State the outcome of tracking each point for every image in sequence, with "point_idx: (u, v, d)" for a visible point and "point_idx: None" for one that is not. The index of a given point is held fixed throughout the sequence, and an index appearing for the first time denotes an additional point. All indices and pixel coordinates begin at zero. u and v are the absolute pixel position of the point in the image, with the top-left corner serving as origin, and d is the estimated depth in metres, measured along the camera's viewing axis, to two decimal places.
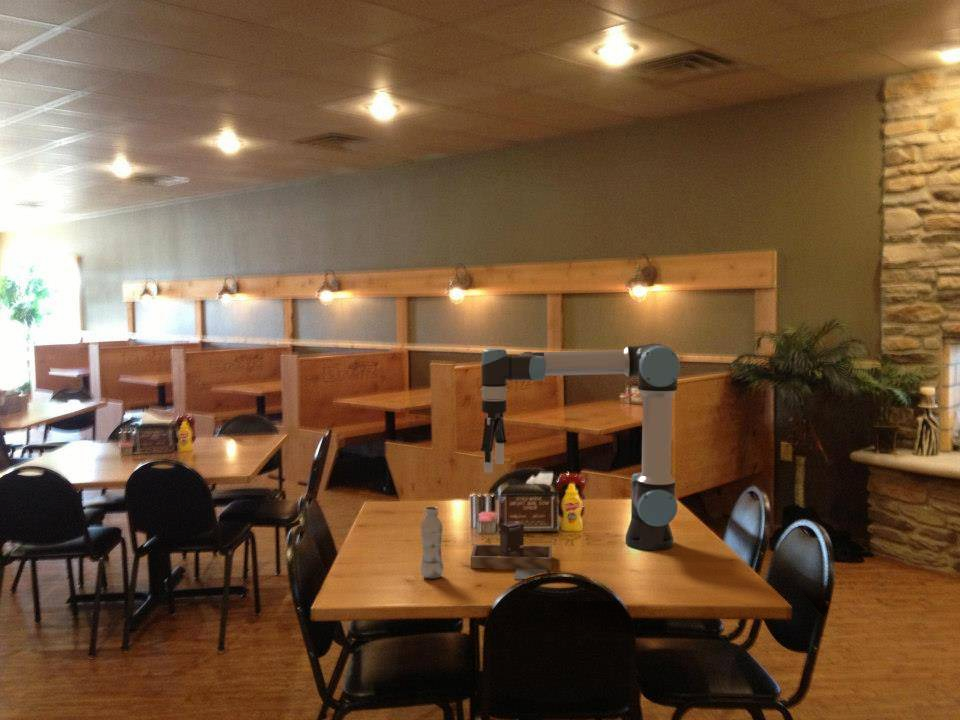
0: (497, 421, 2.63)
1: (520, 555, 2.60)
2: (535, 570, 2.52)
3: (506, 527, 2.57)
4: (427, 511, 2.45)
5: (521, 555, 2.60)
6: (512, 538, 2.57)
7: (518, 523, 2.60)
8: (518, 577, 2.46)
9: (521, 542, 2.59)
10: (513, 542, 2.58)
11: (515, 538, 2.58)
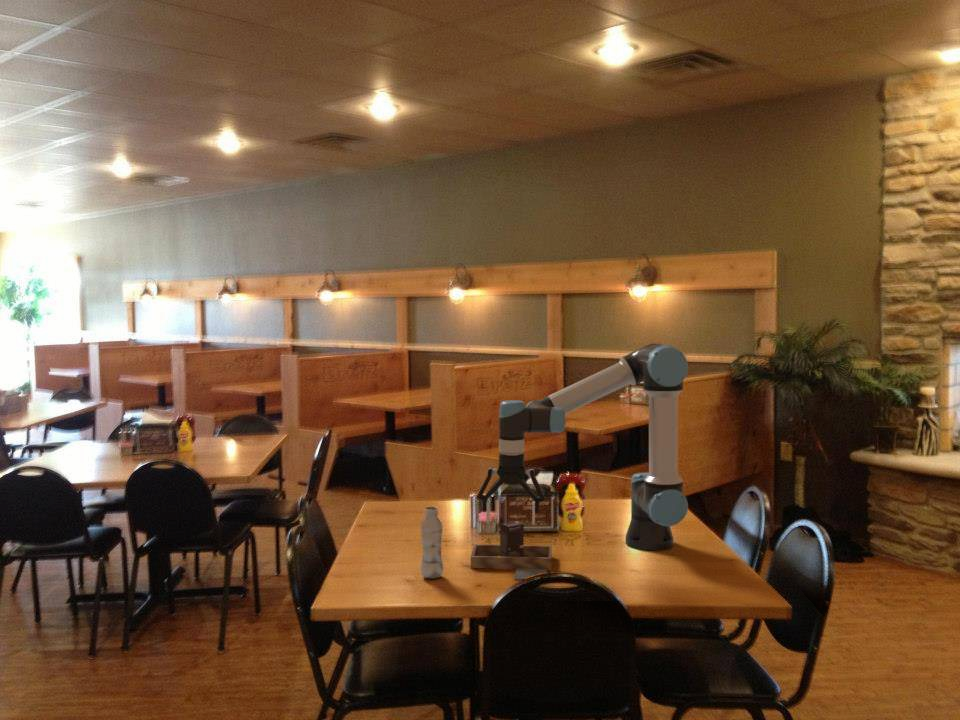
0: (504, 474, 2.57)
1: (520, 555, 2.60)
2: (535, 570, 2.52)
3: (506, 527, 2.57)
4: (427, 511, 2.45)
5: (521, 555, 2.60)
6: (512, 538, 2.57)
7: (518, 523, 2.60)
8: (518, 577, 2.46)
9: (521, 542, 2.59)
10: (513, 542, 2.58)
11: (515, 538, 2.58)
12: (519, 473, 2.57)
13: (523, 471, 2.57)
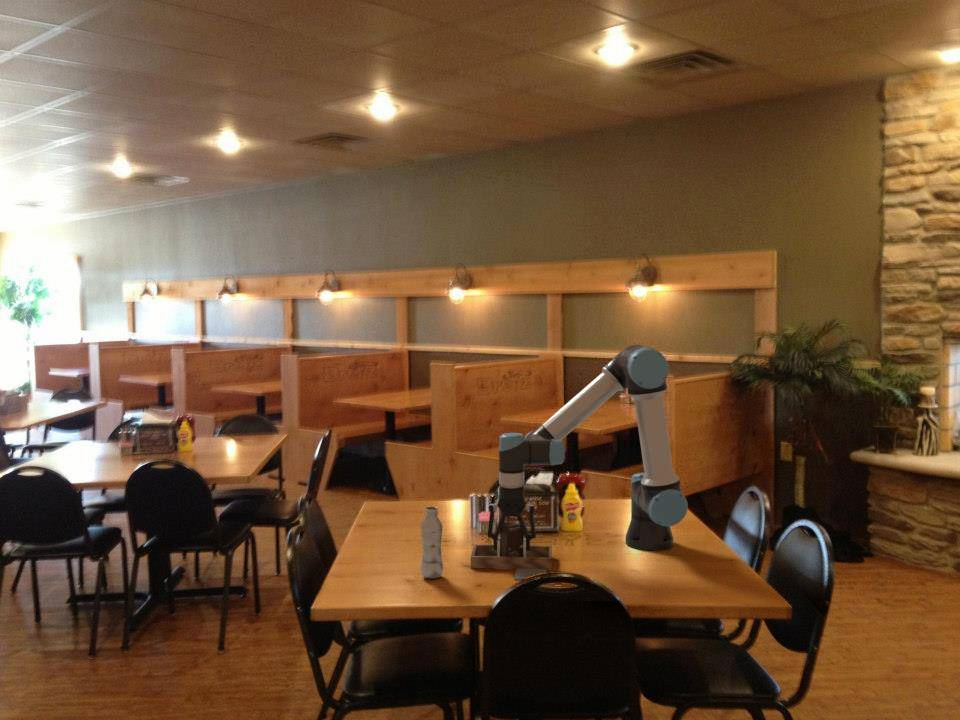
0: (504, 508, 2.58)
1: (520, 555, 2.60)
2: (535, 570, 2.52)
3: (506, 527, 2.57)
4: (427, 511, 2.45)
5: (521, 555, 2.60)
6: (512, 538, 2.57)
7: (518, 523, 2.60)
8: (518, 577, 2.46)
9: (521, 542, 2.59)
10: (513, 542, 2.58)
11: (515, 538, 2.58)
12: (519, 505, 2.58)
13: (524, 504, 2.58)
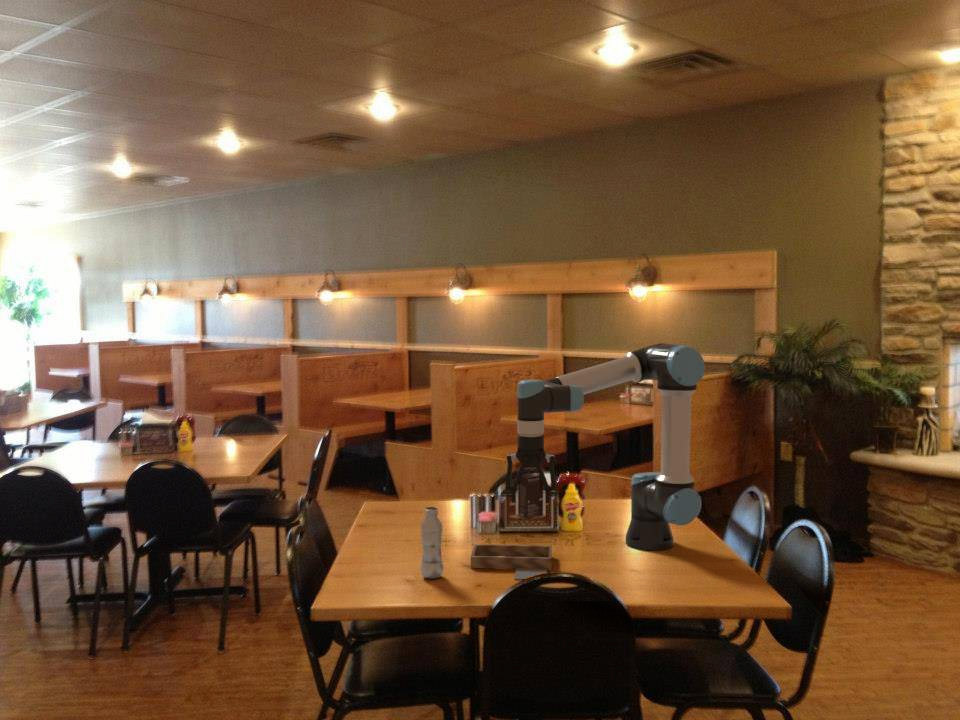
0: (523, 458, 2.45)
1: (540, 508, 2.47)
2: (535, 570, 2.52)
3: (525, 478, 2.44)
4: (427, 511, 2.45)
5: (541, 508, 2.47)
6: (531, 490, 2.45)
7: (537, 474, 2.47)
8: (518, 577, 2.46)
9: (540, 494, 2.47)
10: (532, 494, 2.45)
11: (534, 490, 2.45)
12: (539, 455, 2.45)
13: (543, 454, 2.45)
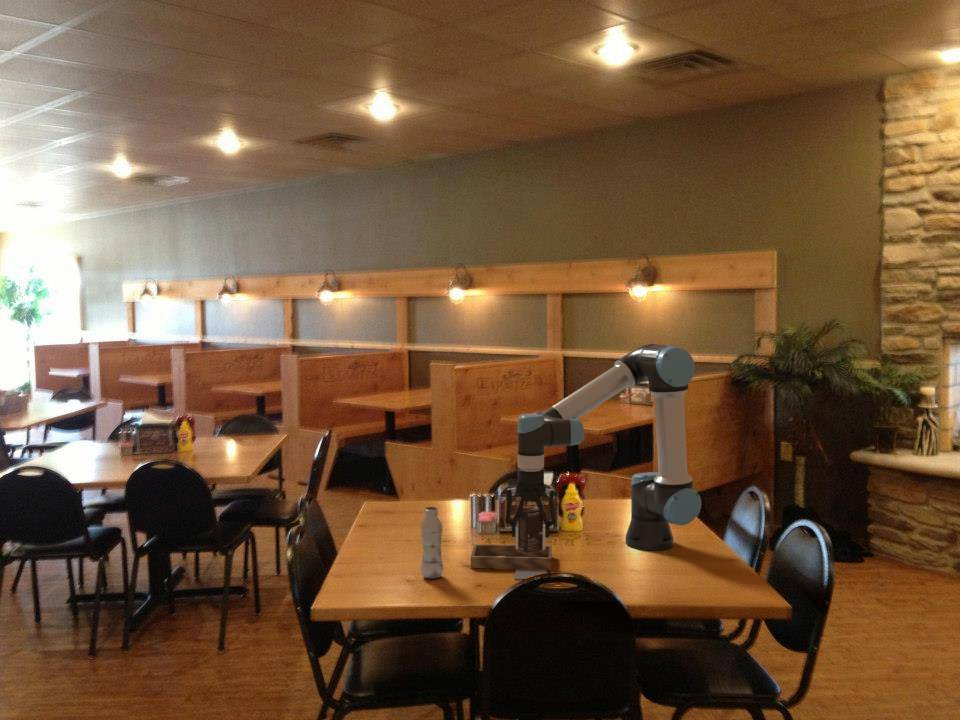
0: (523, 493, 2.46)
1: (539, 542, 2.47)
2: (535, 570, 2.52)
3: (525, 513, 2.45)
4: (427, 511, 2.45)
5: (540, 542, 2.48)
6: (531, 525, 2.45)
7: (537, 508, 2.48)
8: (518, 577, 2.46)
9: (540, 528, 2.47)
10: (531, 528, 2.46)
11: (534, 524, 2.46)
12: (539, 489, 2.46)
13: (543, 489, 2.46)
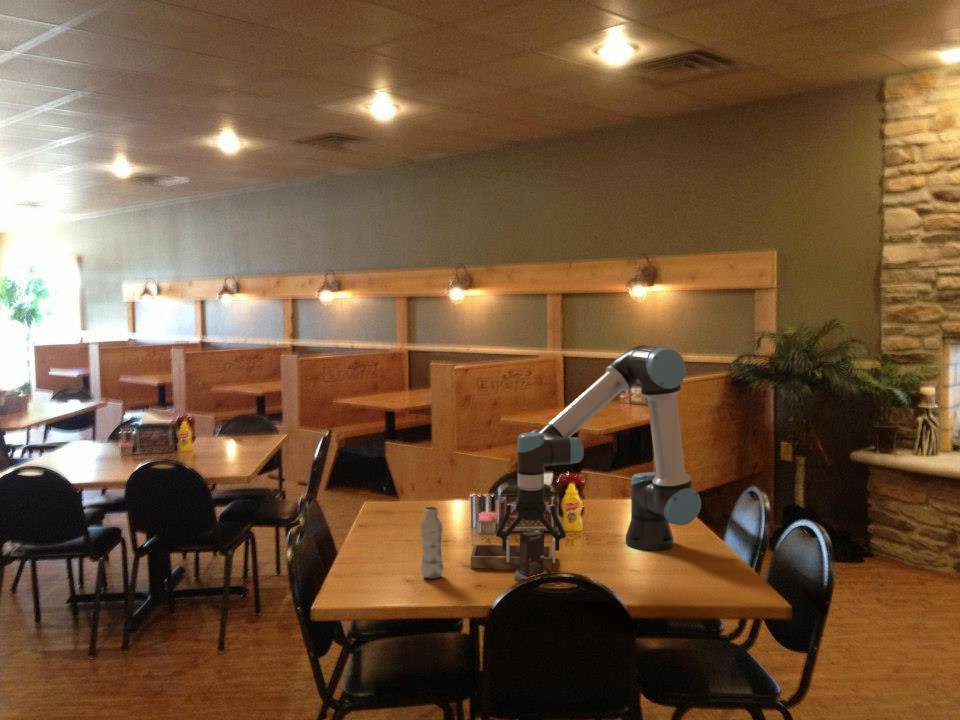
0: (523, 511, 2.46)
1: (540, 565, 2.48)
2: None
3: (526, 536, 2.45)
4: (427, 511, 2.45)
5: (541, 566, 2.48)
6: (532, 548, 2.46)
7: (538, 532, 2.48)
8: (518, 577, 2.46)
9: (541, 552, 2.48)
10: (533, 552, 2.46)
11: (535, 548, 2.46)
12: (539, 509, 2.46)
13: (543, 507, 2.46)
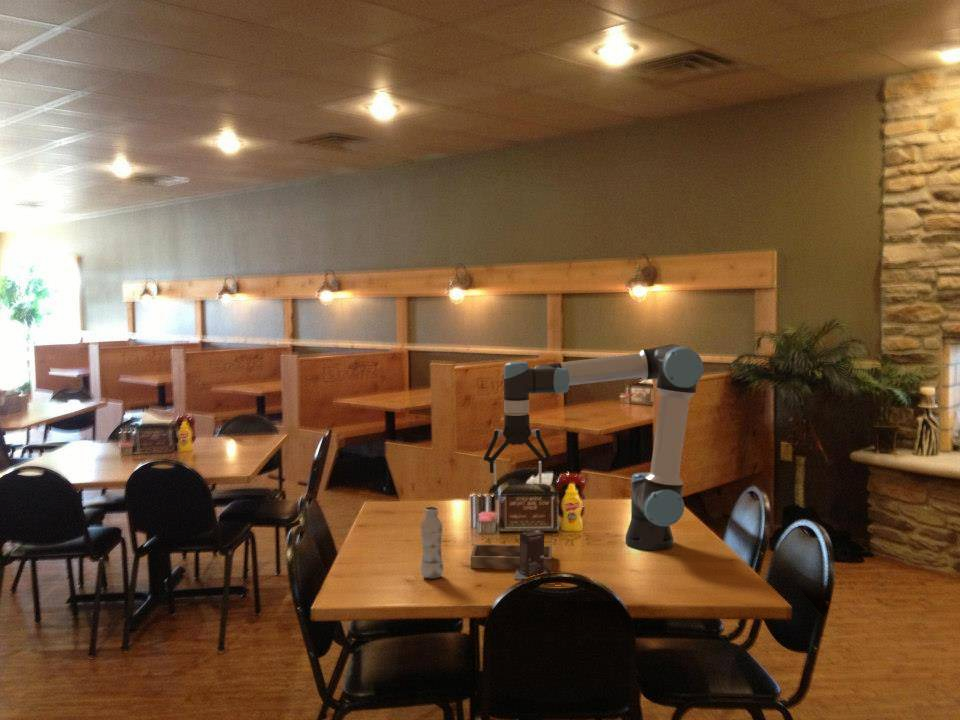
0: (510, 435, 2.59)
1: (540, 565, 2.48)
2: None
3: (526, 536, 2.45)
4: (427, 511, 2.45)
5: (541, 566, 2.48)
6: (532, 548, 2.46)
7: (538, 532, 2.48)
8: (518, 577, 2.46)
9: (541, 552, 2.48)
10: (533, 552, 2.46)
11: (535, 548, 2.46)
12: (525, 433, 2.59)
13: (529, 431, 2.59)
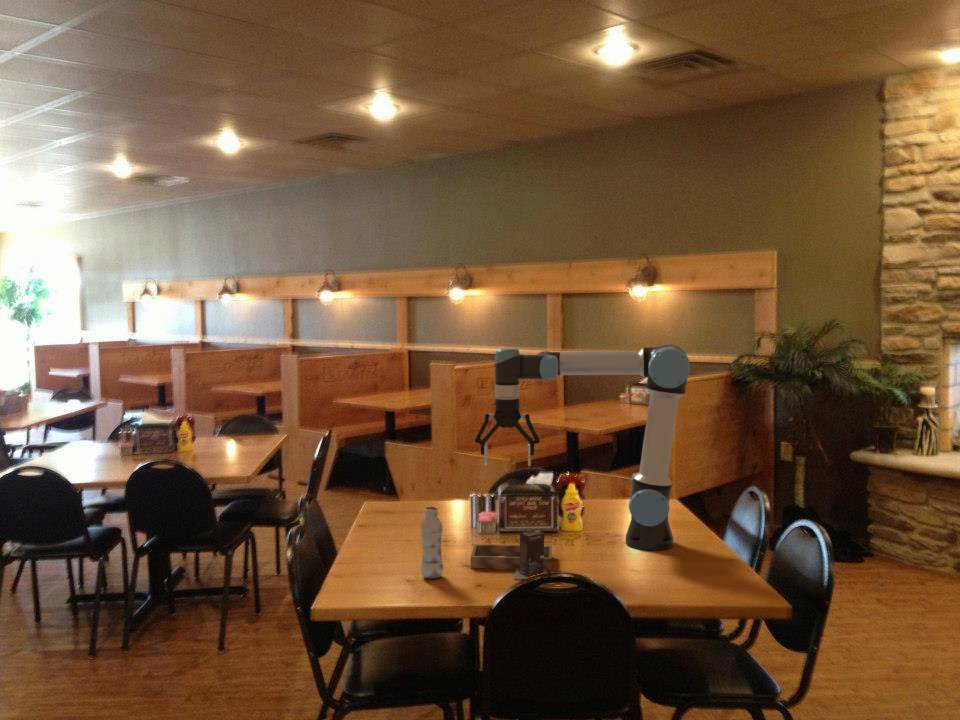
0: (500, 418, 2.70)
1: (540, 565, 2.48)
2: None
3: (526, 536, 2.45)
4: (427, 511, 2.45)
5: (541, 566, 2.48)
6: (532, 548, 2.46)
7: (538, 532, 2.48)
8: (518, 577, 2.46)
9: (541, 552, 2.48)
10: (533, 552, 2.46)
11: (535, 548, 2.46)
12: (515, 417, 2.70)
13: (518, 415, 2.70)
